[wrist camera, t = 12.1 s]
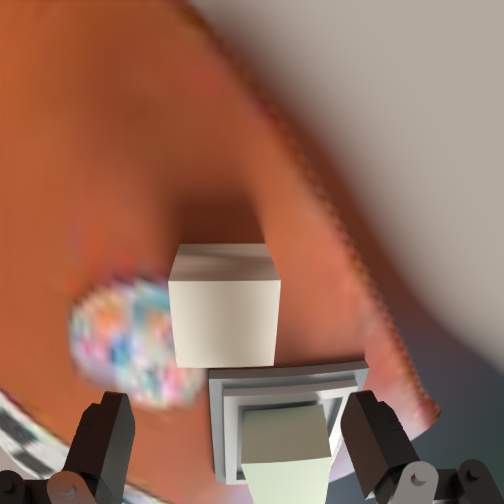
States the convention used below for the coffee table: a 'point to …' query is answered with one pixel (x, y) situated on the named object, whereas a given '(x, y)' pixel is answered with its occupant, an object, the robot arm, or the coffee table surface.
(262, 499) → the brick
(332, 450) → the plate
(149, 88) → the coffee table surface
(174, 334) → the cube
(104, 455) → the robot arm
